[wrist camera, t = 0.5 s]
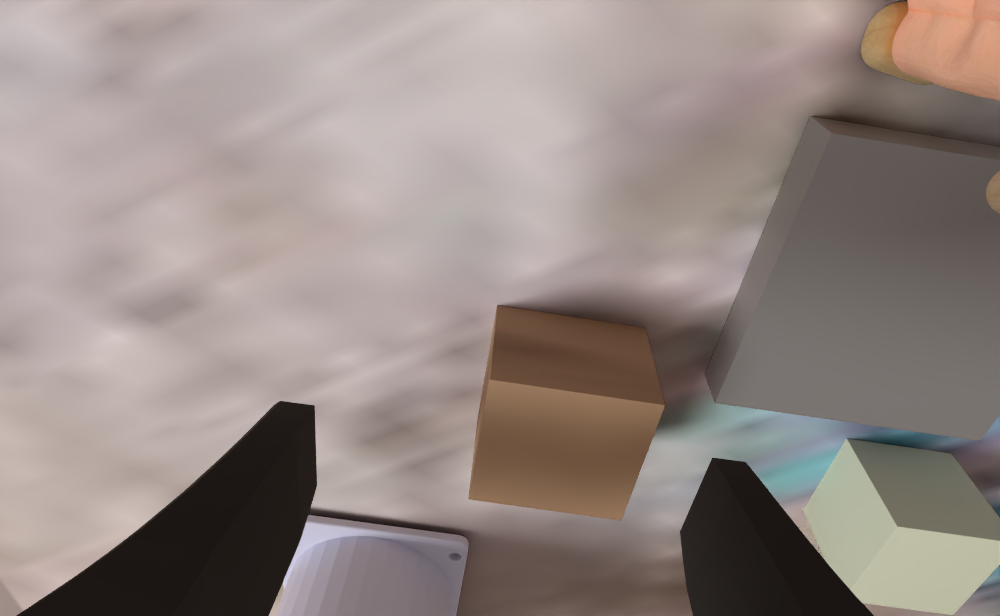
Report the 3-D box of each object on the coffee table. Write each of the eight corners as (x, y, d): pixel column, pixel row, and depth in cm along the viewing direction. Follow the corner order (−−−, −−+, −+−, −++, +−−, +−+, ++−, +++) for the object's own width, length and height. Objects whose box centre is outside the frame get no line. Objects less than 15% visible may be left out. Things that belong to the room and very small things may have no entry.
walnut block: (609, 433, 24) (621, 520, 21) (478, 414, 24) (468, 499, 20) (644, 325, 21) (665, 405, 18) (497, 303, 21) (489, 379, 18)
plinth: (954, 410, 22) (979, 440, 21) (704, 374, 22) (714, 402, 21) (1127, 167, 18) (1172, 188, 16) (810, 116, 17) (831, 133, 16)
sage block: (898, 522, 26) (952, 615, 22) (802, 508, 26) (842, 600, 22) (950, 451, 24) (1018, 543, 20) (845, 436, 23) (897, 526, 20)
